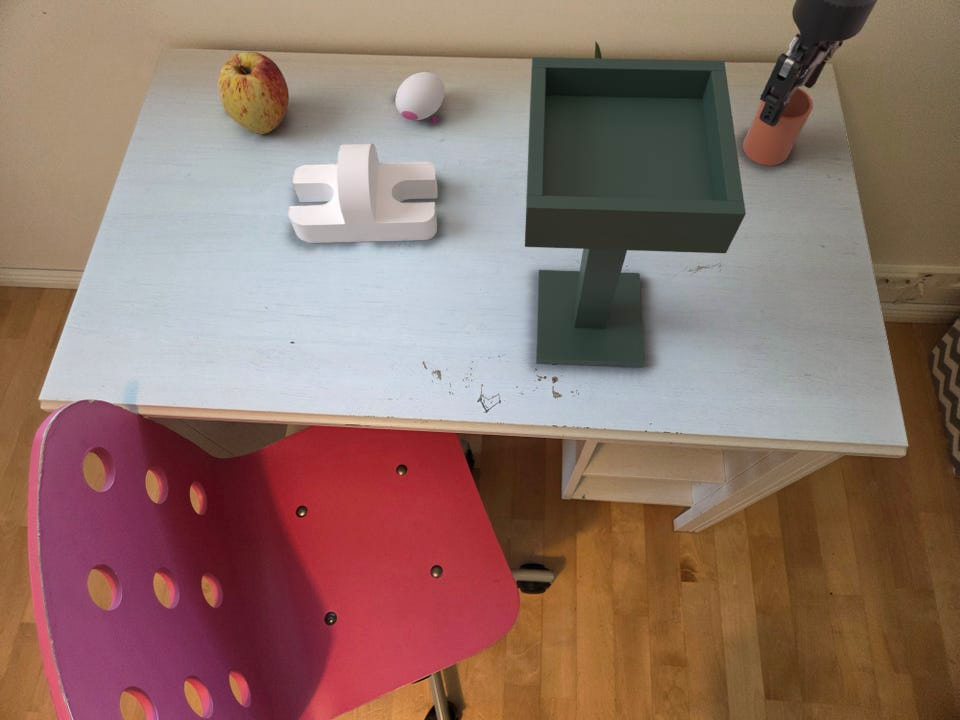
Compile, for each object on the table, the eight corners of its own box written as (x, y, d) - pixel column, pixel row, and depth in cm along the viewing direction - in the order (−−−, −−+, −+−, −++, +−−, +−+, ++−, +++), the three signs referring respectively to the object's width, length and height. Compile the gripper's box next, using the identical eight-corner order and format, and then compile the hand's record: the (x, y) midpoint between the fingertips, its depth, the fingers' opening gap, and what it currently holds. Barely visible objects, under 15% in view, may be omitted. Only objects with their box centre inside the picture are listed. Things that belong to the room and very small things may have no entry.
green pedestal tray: (653, 265, 84) (724, 60, 57) (661, 384, 77) (746, 213, 50) (522, 260, 85) (532, 56, 58) (517, 378, 78) (526, 207, 51)
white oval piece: (431, 109, 101) (409, 66, 98) (464, 105, 95) (442, 59, 92) (395, 138, 99) (371, 95, 95) (427, 135, 93) (403, 89, 89)
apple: (307, 131, 96) (287, 72, 87) (246, 155, 94) (219, 98, 85) (283, 90, 100) (262, 29, 91) (224, 113, 98) (196, 53, 89)
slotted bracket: (294, 243, 87) (271, 191, 78) (302, 184, 92) (281, 128, 83) (436, 239, 87) (429, 187, 78) (437, 180, 91) (431, 124, 82)
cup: (775, 127, 94) (797, 79, 87) (797, 159, 91) (822, 112, 84) (734, 138, 93) (754, 90, 86) (755, 170, 90) (777, 124, 83)
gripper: (843, 32, 67) (782, 151, 82) (913, -40, 72) (843, 85, 86) (776, -1, 70) (728, 120, 84) (847, -69, 74) (790, 57, 89)
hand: (786, 102), depth 85 cm, fingers open, 8 cm apart
